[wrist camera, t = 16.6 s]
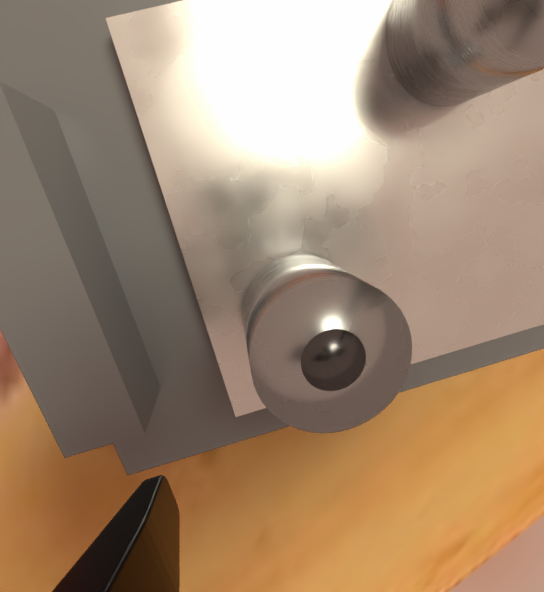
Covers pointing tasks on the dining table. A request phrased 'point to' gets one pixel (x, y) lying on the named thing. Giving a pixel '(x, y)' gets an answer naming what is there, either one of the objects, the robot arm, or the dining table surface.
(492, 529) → the dining table surface
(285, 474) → the dining table surface
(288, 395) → the steel spacer
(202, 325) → the kitchen scale
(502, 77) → the cylinder
